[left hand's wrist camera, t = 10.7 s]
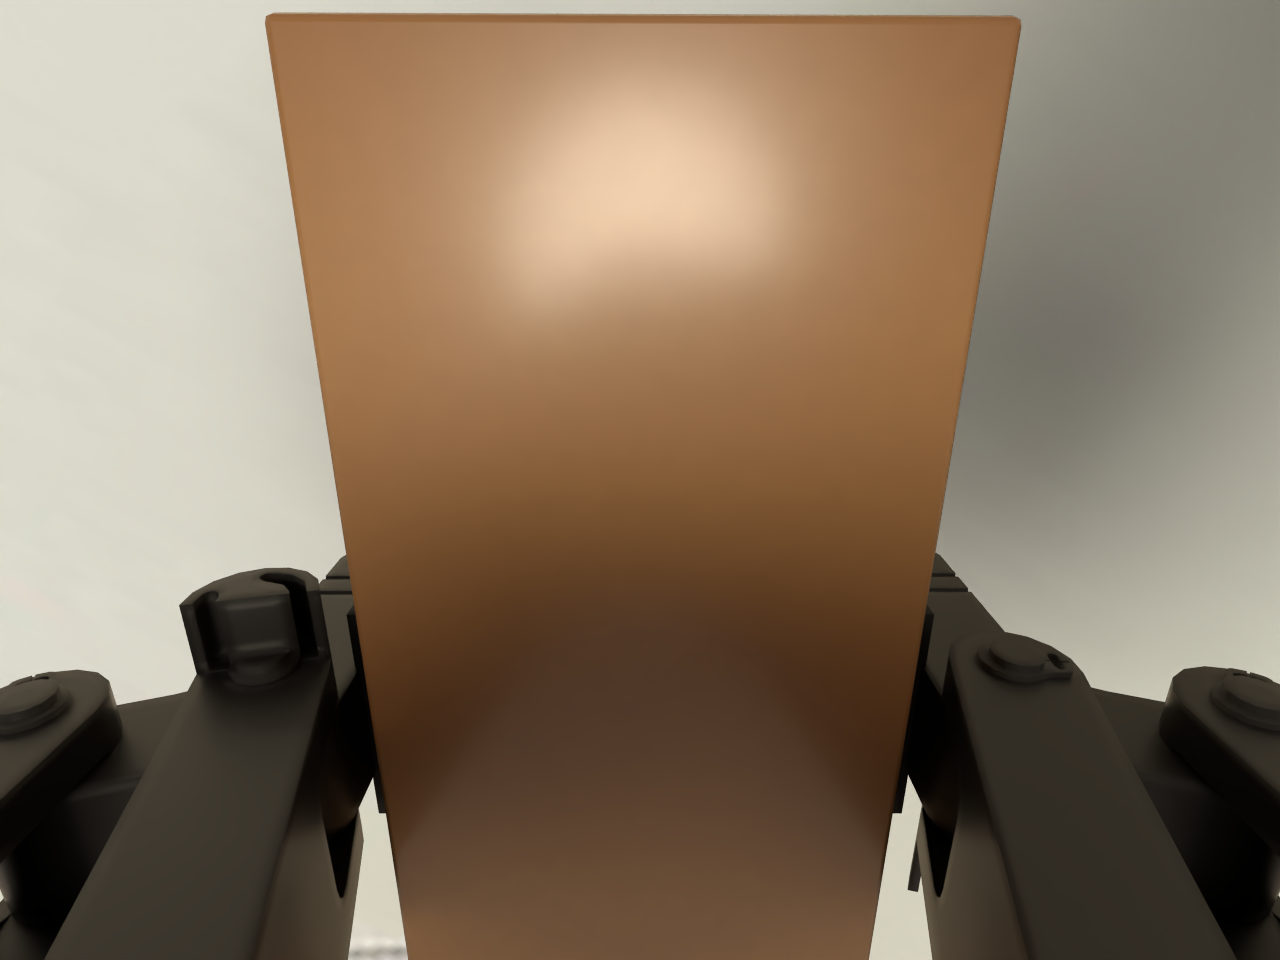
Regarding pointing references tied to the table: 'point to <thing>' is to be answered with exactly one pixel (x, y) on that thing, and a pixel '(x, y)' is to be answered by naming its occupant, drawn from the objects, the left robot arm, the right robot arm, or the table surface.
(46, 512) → the table surface
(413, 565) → the bar
